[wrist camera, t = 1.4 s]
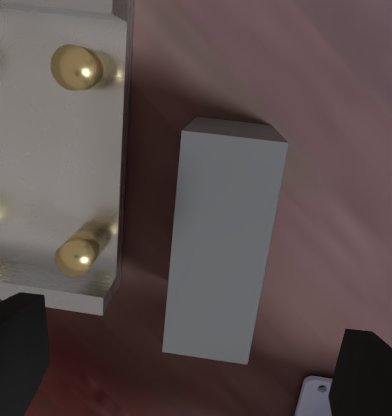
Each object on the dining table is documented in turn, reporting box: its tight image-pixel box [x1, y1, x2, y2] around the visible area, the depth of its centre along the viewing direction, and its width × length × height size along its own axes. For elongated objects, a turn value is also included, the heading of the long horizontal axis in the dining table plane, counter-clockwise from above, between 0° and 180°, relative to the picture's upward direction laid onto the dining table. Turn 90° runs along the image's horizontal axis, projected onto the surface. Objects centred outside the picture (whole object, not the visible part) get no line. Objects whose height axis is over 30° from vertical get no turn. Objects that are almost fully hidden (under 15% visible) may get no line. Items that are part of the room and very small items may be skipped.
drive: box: [162, 117, 288, 365], centre depth 16 cm, size 4×9×6 cm, turn 174°
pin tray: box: [0, 0, 134, 316], centre depth 17 cm, size 9×14×4 cm, turn 174°
